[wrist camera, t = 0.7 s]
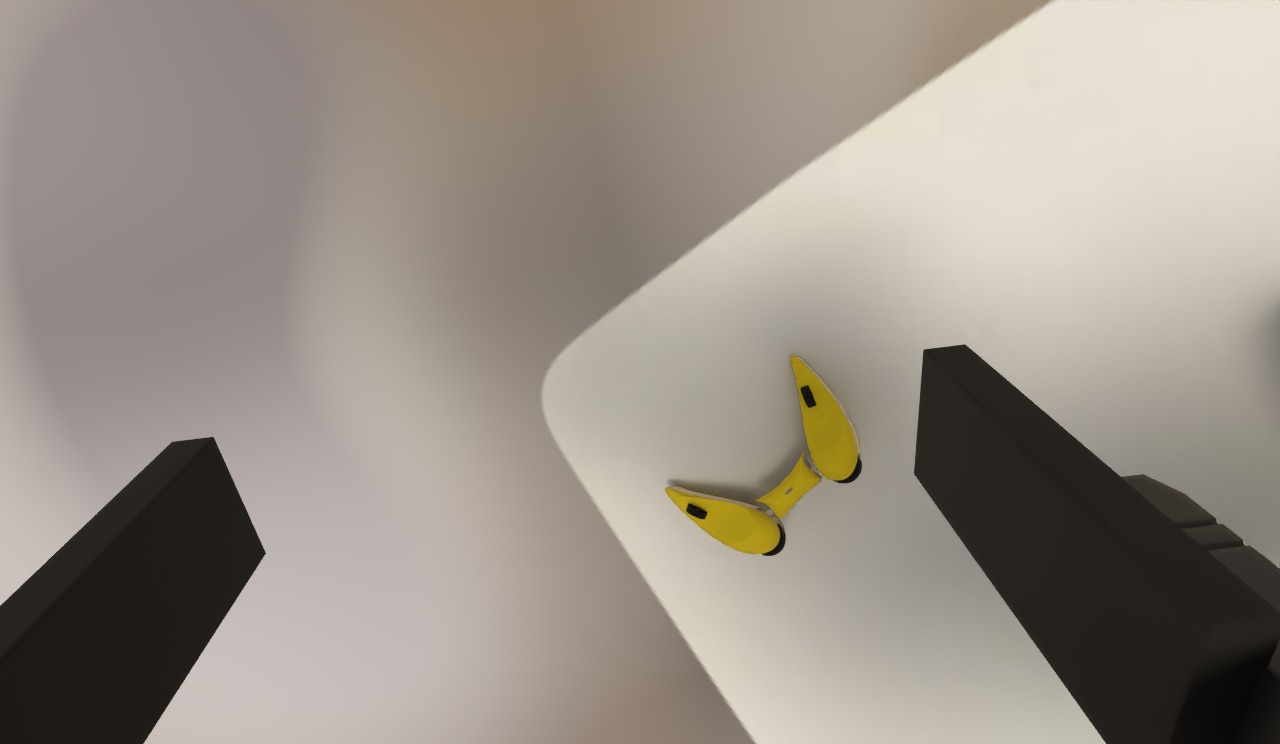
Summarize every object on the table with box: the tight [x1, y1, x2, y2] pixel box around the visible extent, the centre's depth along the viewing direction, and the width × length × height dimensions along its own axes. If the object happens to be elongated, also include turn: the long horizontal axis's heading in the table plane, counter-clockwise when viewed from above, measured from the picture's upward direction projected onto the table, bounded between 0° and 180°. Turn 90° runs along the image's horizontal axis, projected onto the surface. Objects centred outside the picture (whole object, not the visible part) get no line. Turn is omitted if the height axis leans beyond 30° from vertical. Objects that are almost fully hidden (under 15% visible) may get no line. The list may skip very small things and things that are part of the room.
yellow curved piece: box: [665, 355, 862, 556], centre depth 35 cm, size 10×6×4 cm, turn 140°
